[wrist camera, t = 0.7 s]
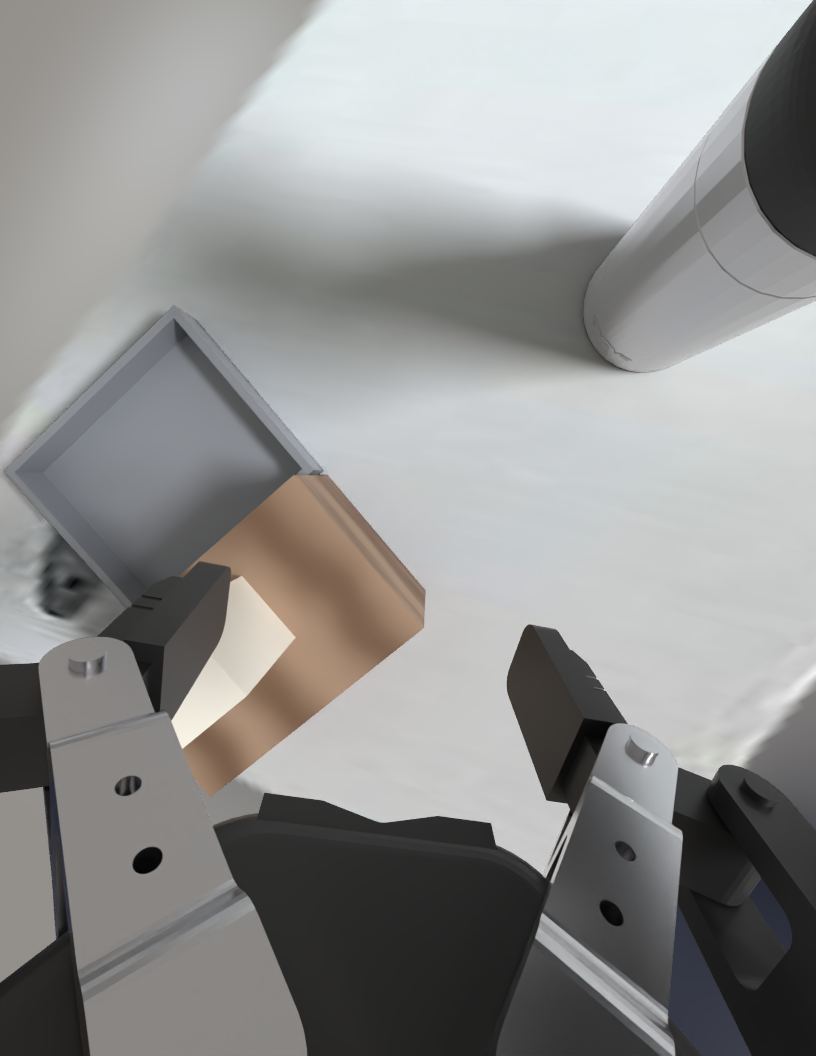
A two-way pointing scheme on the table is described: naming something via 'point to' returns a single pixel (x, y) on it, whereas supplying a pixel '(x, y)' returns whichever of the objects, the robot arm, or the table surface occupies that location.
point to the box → (158, 459)
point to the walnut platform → (307, 616)
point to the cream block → (233, 661)
